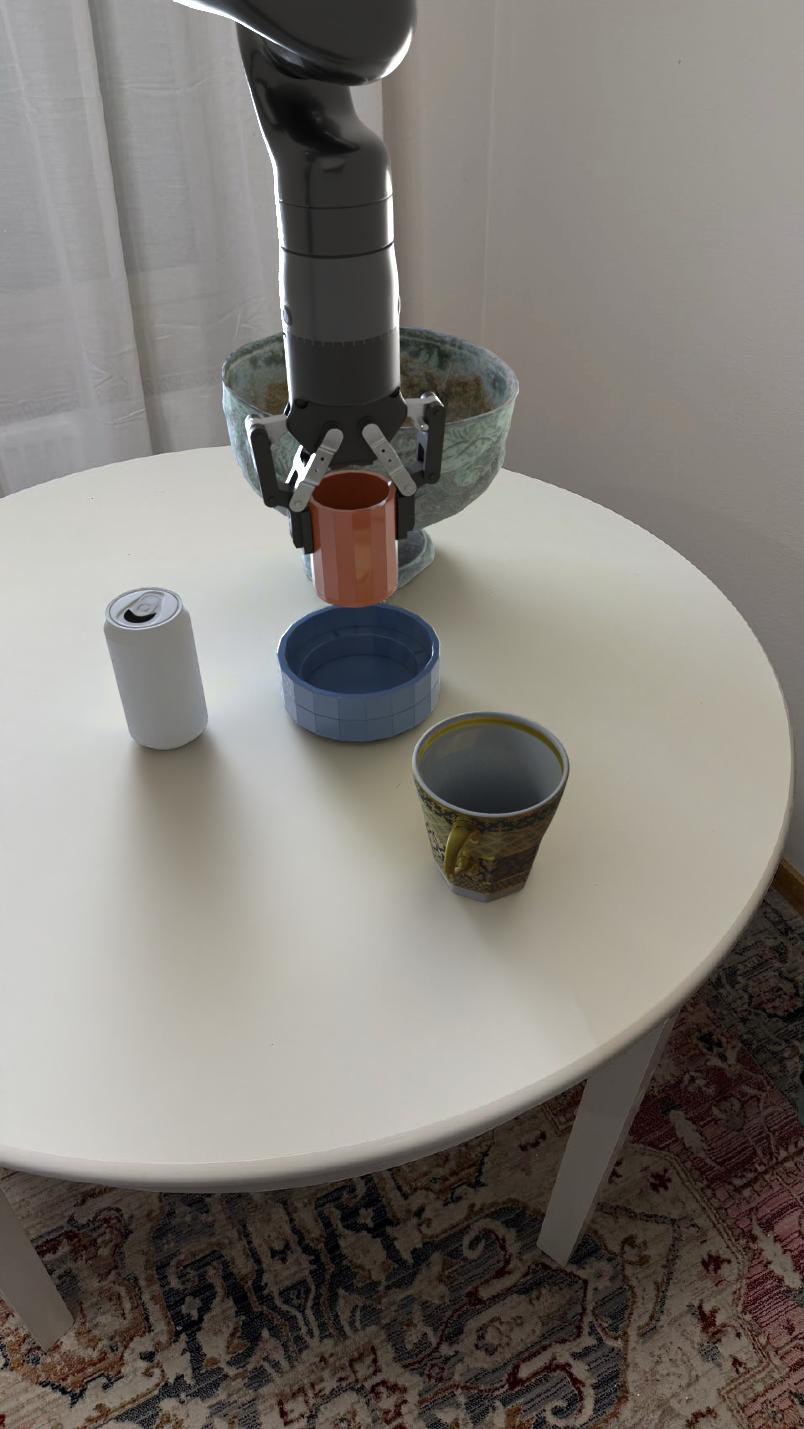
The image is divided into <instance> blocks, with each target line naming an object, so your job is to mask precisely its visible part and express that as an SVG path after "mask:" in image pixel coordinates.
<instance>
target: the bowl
mask: <svg viewBox="0 0 804 1429" xmlns="http://www.w3.org/2000/svg"><path fill="white" fill-rule="evenodd" d="M437 634H438V633H436V630H435V629H434V626H432V625H431V624H430V623H429V622H428V621H426V620H425V619H424V617H422V616H420V615H419V614H417V613H415V612H413V611H410V610H408V609H406V608H404V607H401V606H399V605H393V604H389V603H384V602H380V603H378V604H375V605H371V606H366V607H358V608H348V607H340V606H336V605H332V604H330V605H327V606H325V607H322V608H319V609H316V610H313V611H311V612H308V613H307V614H305V615H304V616H302V617H300V618H299V619H298V620H296V621H295V622H293V623H291V624H290V626H288V628H287V629H286V631H285V632H284V633H283V634H282V635H281V637H280V639H279V642H278V646H277V650H276V661H277V669H278V676H279V677H278V679H279V685H280V687H279V688H280V694H281V698H282V699H281V700H282V702H283V706H284V709H285V712H286V713H287V714H288V715H289V716H290V717H291V718H292V719H293V720H294V722H295V723H296V724H297V725H299V726H300V727H302V728H304V729H305V730H307V731H309V732H311V733H313V734H315V735H317V736H320V737H323V738H328V739H331V740H332V739H333V740H336V741H339V742H372V741H377V740H382V739H388V738H393V737H395V736H397V735H400V734H402V733H404V732H406V731H409V730H411V729H413V728H415V727H416V726H418V725H419V724H421V722H423V721H424V720H425V719H426V718H427V717H428V716H430V715H431V714H432V712H433V710H434V708H435V707H436V705H437V703H438V702H439V700H440V688H441V687H440V686H441V685H440V684H441V640H440V638H439V636H438V635H437Z"/></svg>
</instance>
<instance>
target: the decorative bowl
mask: <svg viewBox="0 0 804 1429" xmlns="http://www.w3.org/2000/svg"><path fill="white" fill-rule="evenodd" d="M399 344H400V391H401V394H402V397H403V399H414V398H421V396H422V395H423V394H424V393H425V392H433V393H434V394H435V395H436V396H437V398H438V399H439V400H440V402H441V403H442V404H443V406H444V407H445V409H446V422H445V432H444V442H443V453H442V463H441V474H440V479H439V481H438V482H437V483H435V484H432V485H430V484H425V485H423V486H421V487H419V488H418V489H417V491H416V493H415V526H414V528H413V531H408V532H407V539H403V540H397V541H398V585H397V588H396V590H395V592H396V591H398V590H400V589H401V588H402V587H404V586H405V585H406V584H408V583H410V581H412V580H413V579H415V577H416V576H418V575H419V574H420V573H422V572H423V571H424V570H425V569H427V568H428V567H429V566H430V565H431V564H432V563H434V559H435V545H434V542H433V540H432V537H431V535H430V534H429V533H428V532H427V530H426V529H425V528H427V527H429V526H432V525H434V524H437V523H440V522H442V521H444V520H446V519H448V518H451V517H453V516H456V515H457V514H459V513H461V512H462V511H463V510H464V509H466V508H467V507H468V506H470V505H471V504H472V503H473V502H475V501H476V500H477V499H478V498H479V497H481V496H482V495H483V494H484V493H485V492H486V491H487V490H488V489H489V487H490V486H491V484H492V483H493V481H494V479H495V478H496V477H497V475H498V474H499V472H500V470H501V468H502V466H503V465H504V462H505V457H506V453H507V452H506V451H507V448H506V442H507V439H508V435H509V433H510V432H509V431H510V428H511V425H512V418H513V413H514V410H515V409H514V408H515V404H516V399H517V397H518V395H519V394H520V384H519V383H520V382H519V379H518V376H517V374H516V373H515V371H514V370H513V369H512V367H511V366H510V365H508V363H507V362H506V361H504V360H503V359H502V358H500V357H499V355H497V354H496V353H494V352H492V351H491V350H489V349H487V348H485V347H484V346H481V345H479V344H476V343H474V342H471V341H470V340H466V339H463V338H461V337H458V336H454V335H453V334H448V333H444V332H440V331H436V330H432V329H429V328H426V327H418V326H409V325H403V324H399ZM221 380H222V382H221V383H222V391H223V392H222V402H221V403H222V408H223V413H224V416H225V420H226V424H227V431H228V436H229V441H230V445H231V449H232V452H233V454H234V457H235V458H234V459H235V461H236V465H237V466H238V468H239V470H240V472H241V473H242V475H243V476H242V477H243V478H244V479H245V480H246V482H247V483H248V484H249V486H250V488H251V489H252V491H254V493H255V494H256V495H258V496H259V497H260V499H262V500H263V498H262V493H261V492H260V490H259V487H258V482H257V477H256V473H255V468H254V463H253V459H252V454H251V449H250V445H249V440H248V435H247V431H246V426H245V419H246V418H247V416H249V415H250V414H257V415H259V416H260V417H261V418H266V417H271V416H276V415H281V414H284V411H285V409H286V407H287V404H288V401H289V388H288V377H287V366H286V355H285V344H284V333H283V331H280V332H278V333H274V334H271V335H268V336H264V337H261V338H258V339H255V340H252V341H249V342H248V343H245V344H243V345H242V346H239V347H238V348H237V349H236V350H235V351H233V352H231V353H230V354H229V355H228V356H227V357H226V358H224V363H222V366H221ZM417 435H418V430H417V429H416V428H415V427H414V425H413V423H412V421H411V417H406V419H405V421H404V423H403V424H402V426H401V427H400V429H399V430H398V432H397V433H396V435H395V436H394V438H393V439H392V441H391V442H390V444H391V446H392V447H393V449H394V450H395V452H396V454H397V455H398V457H399V458H400V460H401V461H402V463H403V464H404V466H405V467H406V466H408V465H410V464H412V463H414V462H415V460H416V447H417ZM299 448H300V444H299V443H298V442H297V441H296V440H295V439H294V438H293V437H292V436H291V434H290V433H289V432H286V433H284V434H283V435H282V437H281V439H280V446H279V448H278V449H277V450H275V451H272V452H271V453H272V458H273V463H274V468H275V473H276V478H277V481H279V482H285V483H286V482H287V479H288V477H289V475H290V473H291V471H292V469H293V466H294V459H295V456H296V454H297V452H298V450H299ZM344 470H366V471H370V472H374V473H378V474H381V475H383V476H385V477H387V478H388V479H390V480H391V481H392V482H393V484H394V481H393V480H392V478H391V477H390V476H389V474H388V473H387V471H386V470H385V468H384V467H383V465H382V464H381V462H380V461H379V459H377V460H375V461H373V465H366V466H359V465H350V466H347V467H344V468H342V469H337V470H330V469H329V467H328V468H327V470H326V472H325V474H324V475H326V474H329V473H331V472H337V471H344ZM273 509H274V510H276V511H277V512H278V513H280V514H282V516H284V517H287V518H288V512H287V508H285V507H282V506H276V507H274V508H273ZM301 560H302V565H303V566H302V567H303V570H304V573H305V574H306V575H307V577H308V578H309V579H310V580H312V569H311V558H310V554H307V555H304V554H303V553H302V558H301Z"/></svg>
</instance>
